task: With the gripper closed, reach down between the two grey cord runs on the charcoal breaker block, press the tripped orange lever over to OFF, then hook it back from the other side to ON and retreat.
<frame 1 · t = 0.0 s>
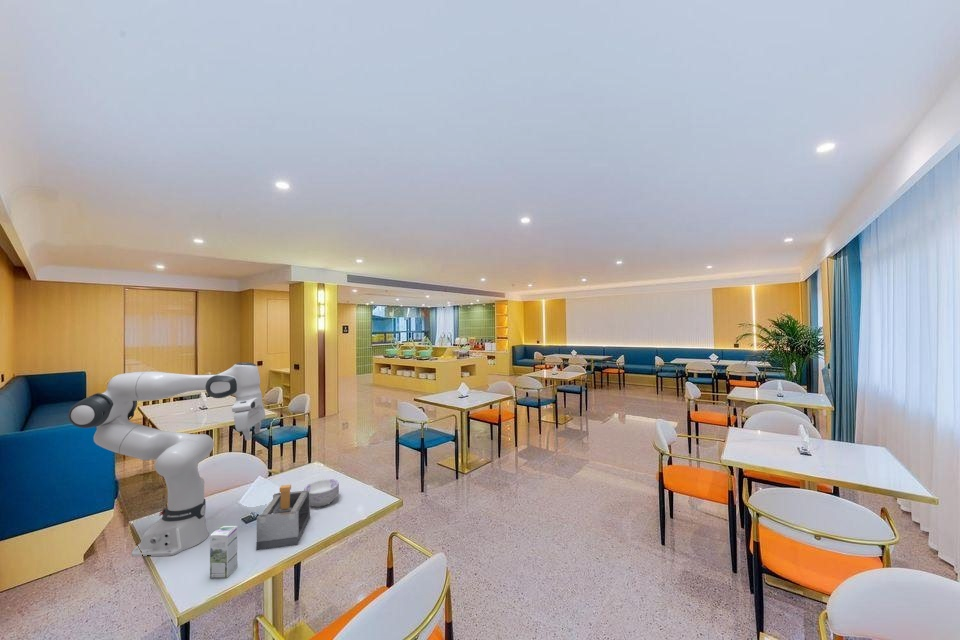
hand: (253, 436, 145), 39 cm above the table, tool pointing down, fingers open, 8 cm apart
breaker block: (285, 532, 144), on the table
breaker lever: (285, 499, 144), point 13 cm above the table, hinge at 0.0°
syrup box: (223, 573, 121), on the table
paper bowls: (321, 502, 170), on the table
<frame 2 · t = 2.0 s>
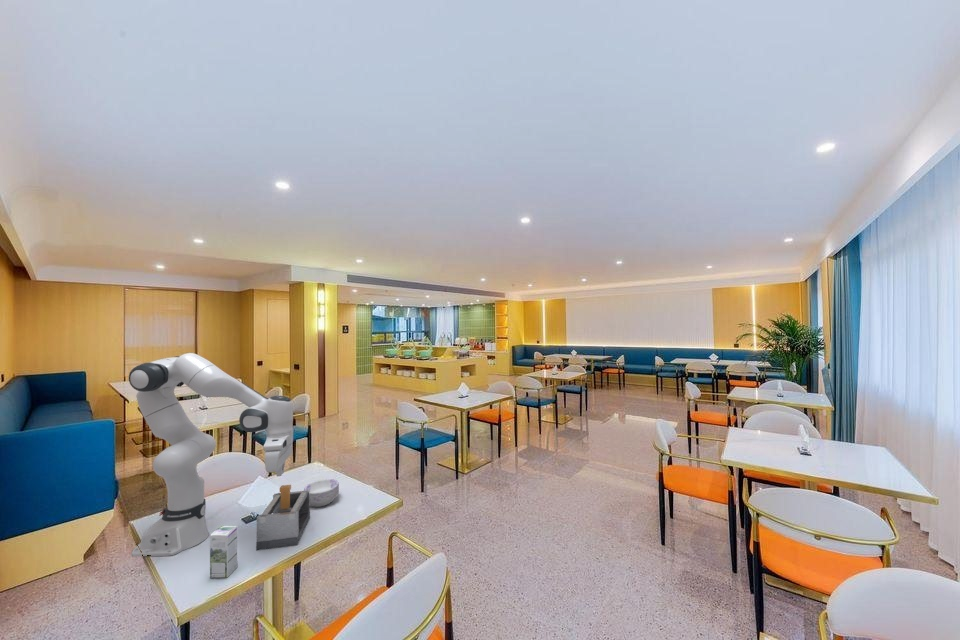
hand: (280, 474, 138), 26 cm above the table, tool pointing down, fingers closed
nothing on the table moved.
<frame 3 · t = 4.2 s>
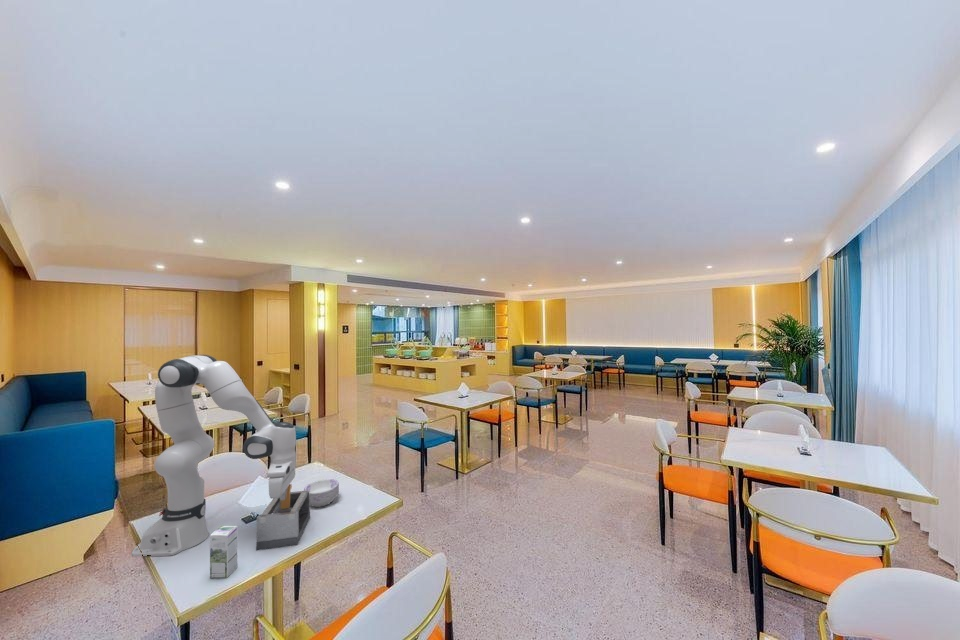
hand: (283, 499, 142), 15 cm above the table, tool pointing down, fingers closed
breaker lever: (285, 499, 145), point 13 cm above the table, hinge at 4.5°, touching gripper
everything else where it was.
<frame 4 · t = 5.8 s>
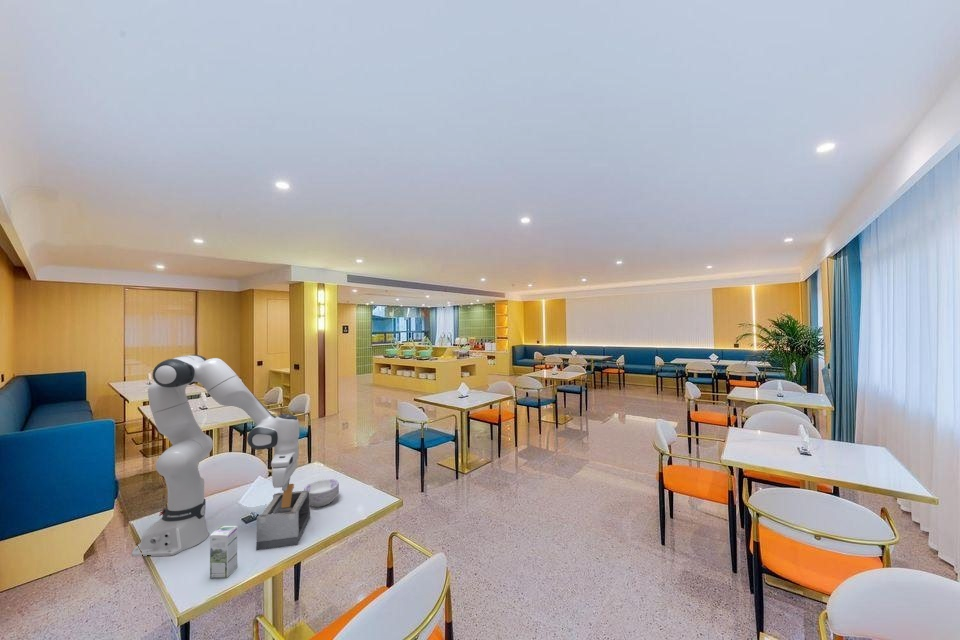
hand: (285, 489, 146), 17 cm above the table, tool pointing down, fingers closed
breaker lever: (287, 498, 147), point 13 cm above the table, hinge at 30.3°
everything else where it was.
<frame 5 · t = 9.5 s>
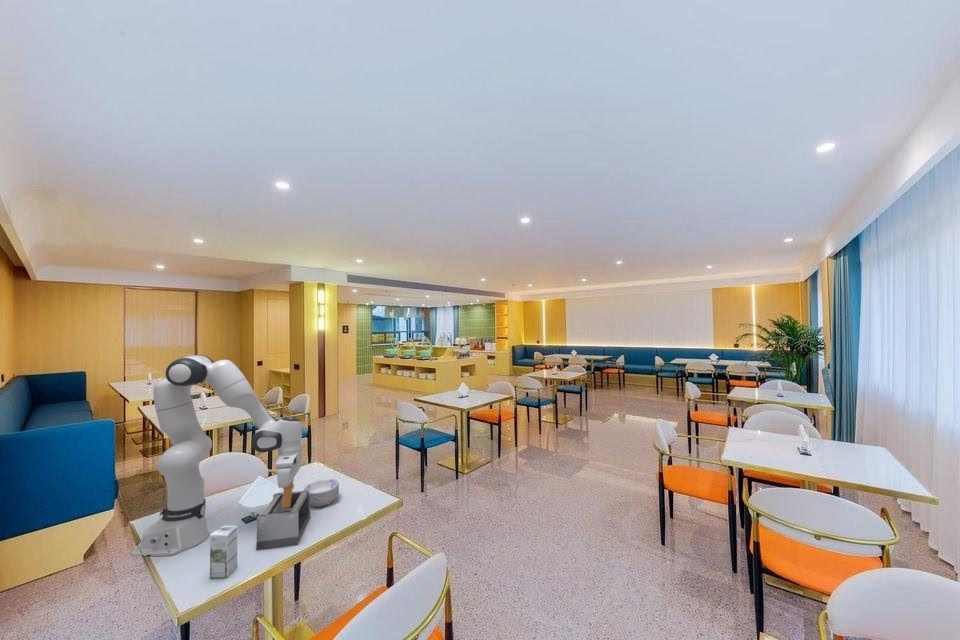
hand: (289, 488, 151), 15 cm above the table, tool pointing down, fingers closed, pressing on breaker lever
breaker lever: (286, 498, 147), point 13 cm above the table, hinge at 29.0°, touching gripper
everything else where it was.
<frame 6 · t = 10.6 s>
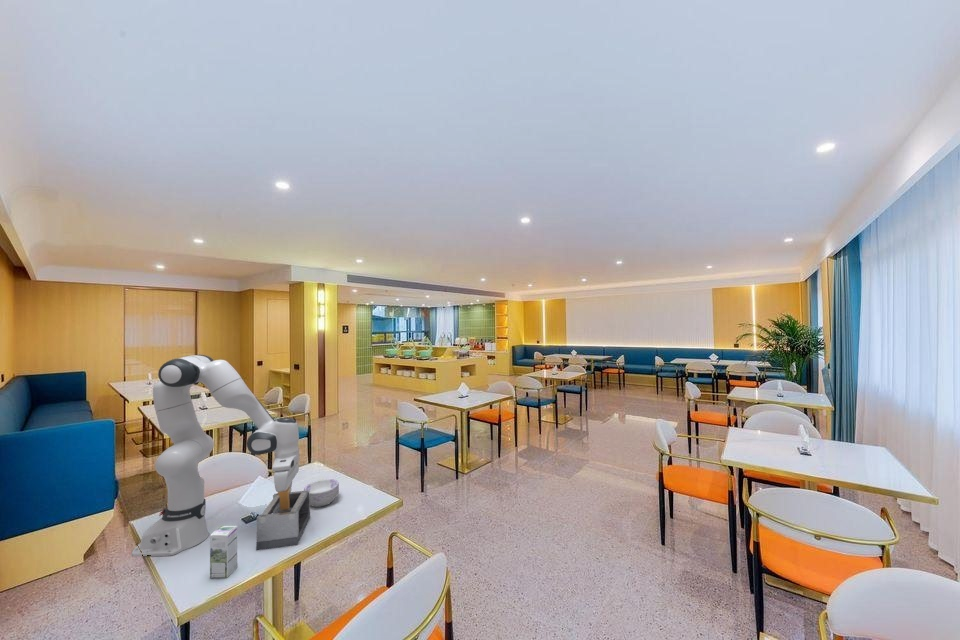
hand: (288, 492, 145), 16 cm above the table, tool pointing down, fingers closed, pressing on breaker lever
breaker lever: (284, 500, 143), point 13 cm above the table, hinge at -13.5°, touching gripper
everything else where it was.
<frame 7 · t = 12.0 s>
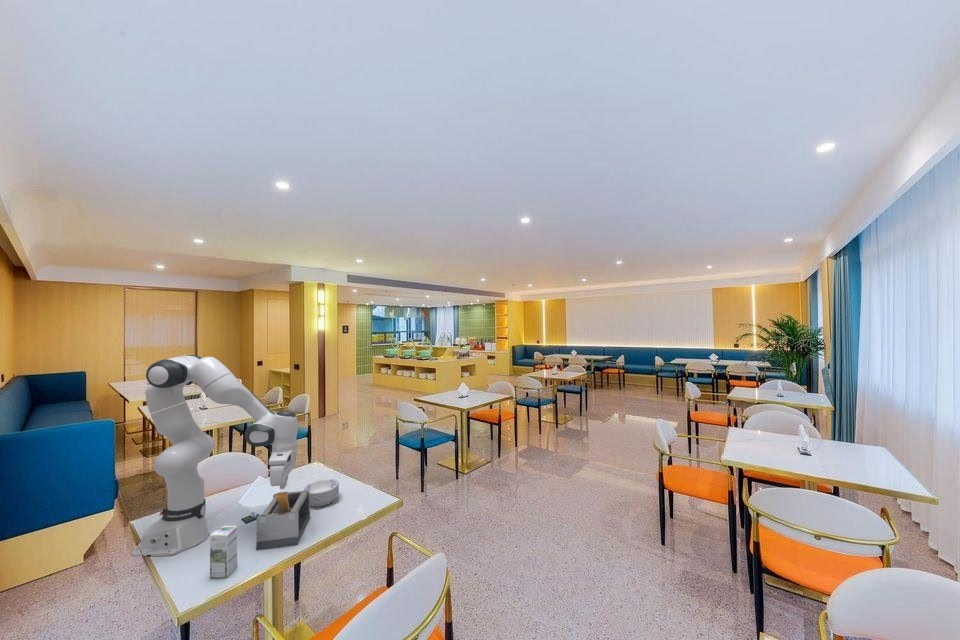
hand: (283, 487, 143), 19 cm above the table, tool pointing down, fingers closed
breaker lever: (283, 503, 142), point 13 cm above the table, hinge at -29.9°
everything else where it was.
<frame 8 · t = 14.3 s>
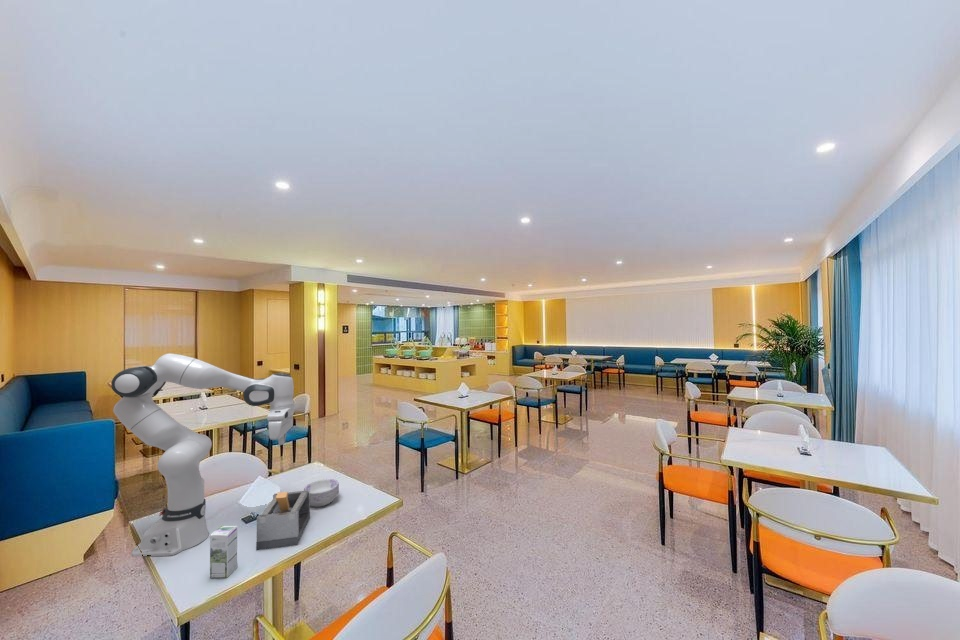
hand: (281, 443, 153), 33 cm above the table, tool pointing down, fingers closed
nothing on the table moved.
at the end: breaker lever at -30° (first picture: +0°); syrup box moved 0.2 cm from its start; paper bowls moved 0.3 cm from its start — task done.
